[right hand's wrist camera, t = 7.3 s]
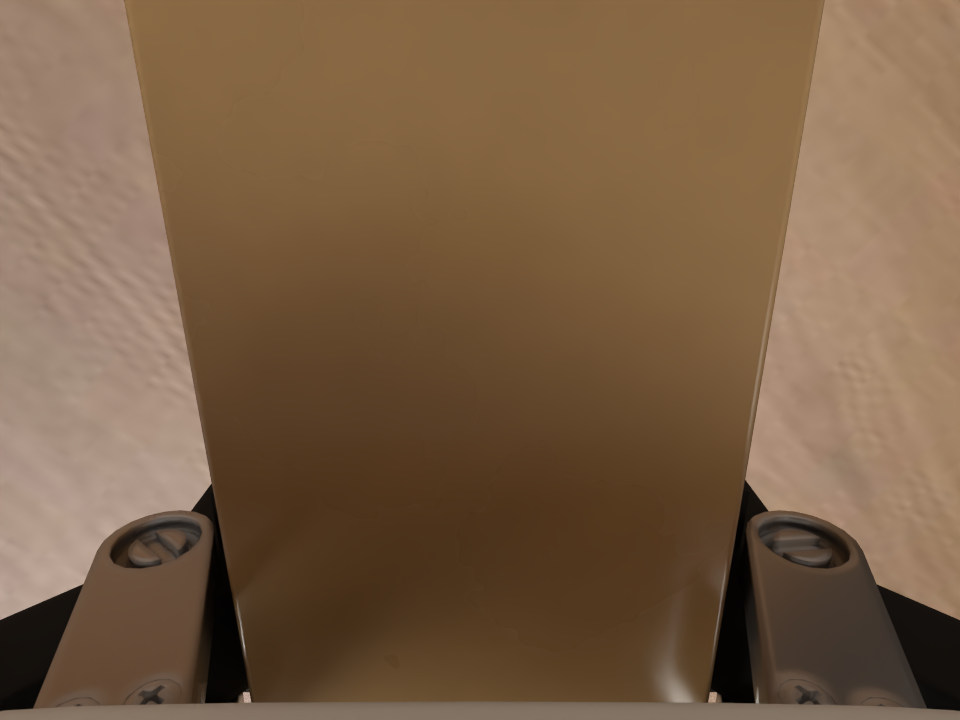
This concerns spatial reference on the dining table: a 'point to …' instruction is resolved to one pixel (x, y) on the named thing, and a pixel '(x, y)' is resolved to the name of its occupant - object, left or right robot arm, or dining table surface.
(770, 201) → the bar
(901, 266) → the dining table surface
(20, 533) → the dining table surface
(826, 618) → the right robot arm
